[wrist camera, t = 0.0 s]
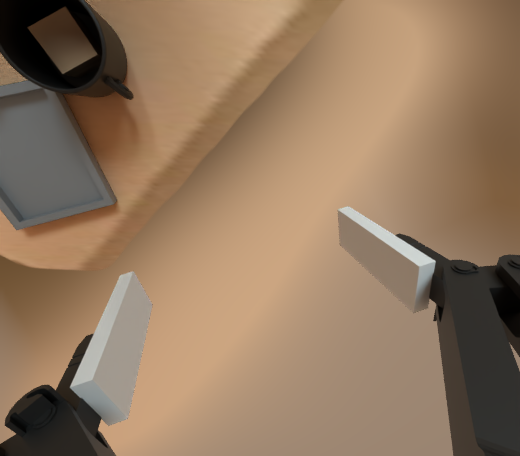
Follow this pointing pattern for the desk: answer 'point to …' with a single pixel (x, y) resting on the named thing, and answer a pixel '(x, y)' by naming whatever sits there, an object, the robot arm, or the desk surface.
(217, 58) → the desk surface
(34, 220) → the tray
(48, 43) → the walnut block
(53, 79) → the mug
